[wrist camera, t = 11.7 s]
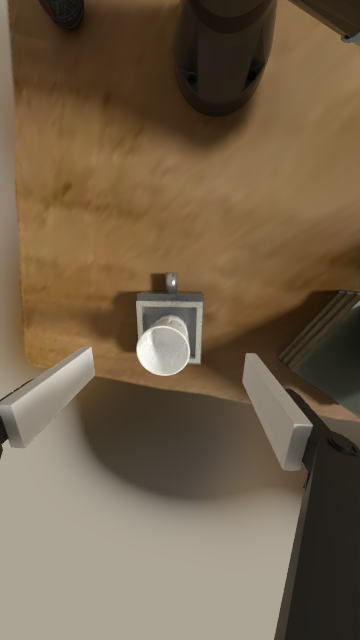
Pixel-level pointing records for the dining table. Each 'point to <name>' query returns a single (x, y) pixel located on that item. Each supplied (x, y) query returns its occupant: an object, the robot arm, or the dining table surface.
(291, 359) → the book stack
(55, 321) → the dining table surface
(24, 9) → the dining table surface
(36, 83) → the dining table surface
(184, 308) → the grey open box
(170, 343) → the white cup
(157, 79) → the dining table surface
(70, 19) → the mate gourd
